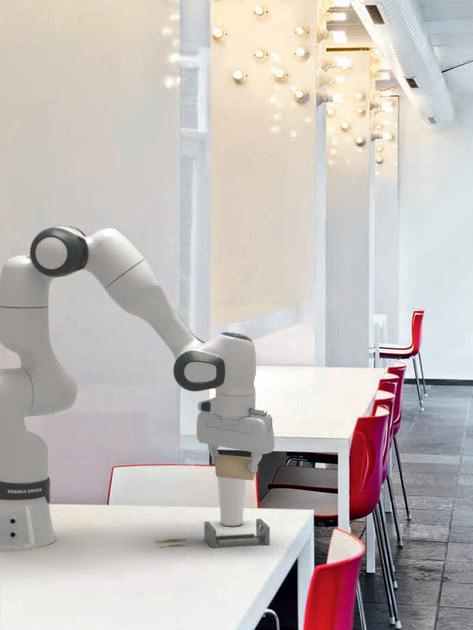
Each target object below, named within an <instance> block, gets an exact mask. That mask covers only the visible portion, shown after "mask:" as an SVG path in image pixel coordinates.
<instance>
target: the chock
mask: <svg viewBox="0 0 473 630" xmlns="http://www.w3.org/2000/svg"><path fill="white" fill-rule="evenodd" d="M177 542H178V543H177ZM179 542H188V539H187V538H186V537H185V538H172V539H171V538H170V539H167V538H166V539H155V542H154V543H156V544H160V545H158V548H176V547H190V546H192V545H191V543H179ZM163 543H175V544H163ZM176 543H177V544H176Z"/></svg>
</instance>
